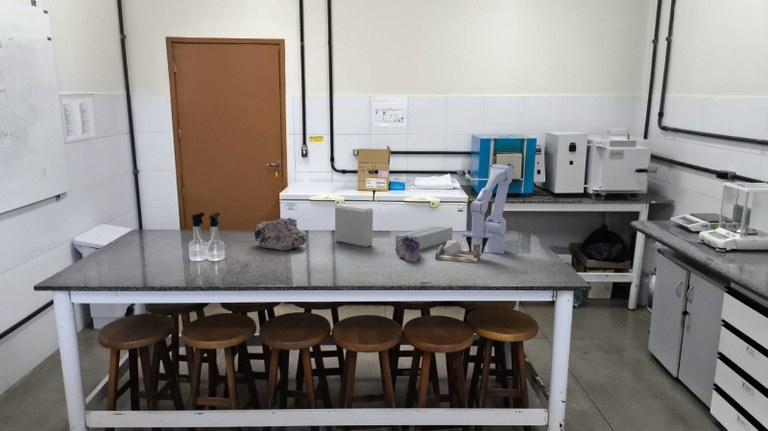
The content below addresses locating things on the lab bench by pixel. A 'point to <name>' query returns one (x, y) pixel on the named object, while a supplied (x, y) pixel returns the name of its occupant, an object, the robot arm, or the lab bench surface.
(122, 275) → the lab bench surface
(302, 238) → the mineral sample
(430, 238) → the long grey block
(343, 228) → the grey thick block
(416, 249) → the geode
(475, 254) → the tan frame
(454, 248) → the die
